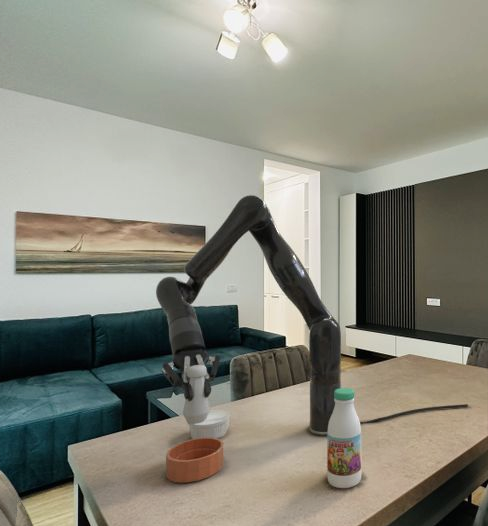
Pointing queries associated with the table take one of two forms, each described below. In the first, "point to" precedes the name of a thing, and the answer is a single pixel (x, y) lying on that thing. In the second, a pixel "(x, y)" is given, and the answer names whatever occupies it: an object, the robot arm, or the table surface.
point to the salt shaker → (196, 396)
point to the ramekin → (211, 425)
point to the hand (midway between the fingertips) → (199, 397)
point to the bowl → (194, 459)
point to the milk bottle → (344, 442)
